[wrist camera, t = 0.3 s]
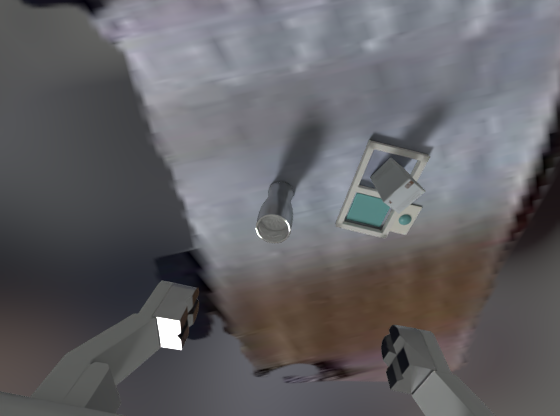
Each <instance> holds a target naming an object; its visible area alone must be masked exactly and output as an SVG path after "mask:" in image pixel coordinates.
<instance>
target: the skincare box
mask: <svg viewBox="0 0 560 416" xmlns="http://www.w3.org/2000/svg"><path fill="white" fill-rule="evenodd" d="M370 178H371V180H372V182H373V184H374V186H375V188H376V190H377V191H378V193H379V195H380V197H381V199H382V201H383V202H384V203H385V204H387V205H388V206H389V207H391V208H392V209H393V210H395V211H396V212H397V213H398V214H400V213H401V212H402V211H403V210H404V209H405V208H407V207H408V206H409V205H410V204H411V203H412V202H414V201H415V200H416V199H417V198H418V197H420V196H421V195H422V194H423V193H424V192H425V190H424V189H423V188H422V187H421V186H420V185H419V184H418V183H417V182H416V181H415V180H414V178H413V177H412V176H411V175H410V174H409V173H408V172H407V171H406V170H405V169H404V168H403V167H402V166H400V165H399V164H398V163H397V162H396V161H395V160H394V159H392V158H389V159H388V160H387V161H386V162H385V163H384V164H383V165H382V166H381V167H380V168H379V169H378V170H377V171H376V172H375V173H374V174H373V175H372V176H371V177H370Z"/></svg>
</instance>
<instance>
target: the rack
mask: <svg viewBox="0 0 560 416" xmlns="http://www.w3.org/2000/svg"><path fill="white" fill-rule="evenodd" d="M374 149H376V150H380V151H384V152H388V153H392V154H396V155H400V156H404V157H408V158H412V159H416V160H418V161H417V163H416V165H415V167H414V169H413V171H412V172H411V174H410V175H411V176H412V177H413V178H414V180H415V181H416V182H417V180H418V178H419V176H420V175H421V173H422V171H423V169H424V167H425V166H426V164H427V162H428V160H429V158H430V156H429V155H428V154H424V153H420V152H416V151H412V150H408V149H404V148H400V147H396V146H392V145H388V144H384V143H380V142H376V141H372V140H369V141H368V144H367V146H366V149H365V151H364V153H363V156H362V158H361V161H360V163H359V166H358V168H357V171H356V173H355V176H354V178H353V181H352V183H351V186H350V188H349V191H348V193H347V196H346V198H345V201H344V203H343V206H342V208H341V211H340V213H339V215H338V218H337V220H336V223H335V224H336V227H340V228H344V229H348V230H352V231H356V232H360V233H365V234H369V235H373V236H377V237H381V238H386V237H387V235H388V233H389V231H391V232H395V233H400V234H404V235H406V234H407V232H408V231H409V229H410V227H411V226H412V224H413V222H414V221H415V219H416V217H417V216H418V214H419V212H420V211H421V209H422V207H420V206H416V205H411V204H410V205H409V206H408V207H407V208H405V209H404V210H403V211H402V212H401V213H400V214H398V213H397V212H396V211H395V210H393V209H392V210H391V212H390V214H389V216H388V218H387V220H386V222H385V224H384V226H383V227H382V229H381V230H380V229H375V228H371V227H367V226H363V225H359V224H355V223H351V222H346V221H344V219H345V216H346V214H347V212H348V209H349V207H350V205H351V202H352V200H353V197H354V195H355V193H356V192H358V193H357V194H356V196H355V199H354V201H353V203H352V206H351V208H350V210H349V213H348V215H347V217H346V219H349V220H353V221H357V222H361V223H365V224H369V225H373V226H378V227H380V225H381V223H382V221H383V219H384V218H385V216H386V214H387V212H388V210H389V208H390V207H389V206H388V205H387V204H385V203H384V202H383V201H382V199H380V198H381V197H380V195H379V193H378V191H377V190H376V189H374V188H370V187H366V186H362V185H359V183H360V181H361V178H362V176H363V174H364V171H365V169H366V167H367V164H368V162H369V160H370V157H371V155H372V152H373V150H374ZM360 193H362V194H360ZM364 194H366V195H364ZM368 195H370V196H368ZM372 196H374V197H372ZM376 197H379V198H376Z"/></svg>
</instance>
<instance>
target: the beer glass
mask: <svg viewBox="0 0 560 416" xmlns="http://www.w3.org/2000/svg"><path fill="white" fill-rule="evenodd" d="M293 196H294V191H293V188H292V187H291V186H290V185H289V184H288V183H286V182H283V181H278V182H275V183H273V184H272V185H271V186H270V187H269V190H268V198H267V199H266V200H265V202H264V203H263V205H262V206H261V208H260V211H259V214H258V218H257V223H256V232H257V234H258V236H259V237H260V238H261V239H263V240H264V241H266V242H269V243H280V242H283V241H285V240H286V239H287V238H288V237H289V235H290V232H291V227H292V223H293V208H292V204H291V200H292V199H293Z"/></svg>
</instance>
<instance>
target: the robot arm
mask: <svg viewBox="0 0 560 416" xmlns="http://www.w3.org/2000/svg"><path fill="white" fill-rule="evenodd" d="M198 294H199V289H198V288H194V287H190V286H185V285H181V284H176V283H171V282H166V281H161V282H160V283H159V284H158V285H157V287H156V288H155V290H154V291H153V293H152V294H151V296H150V297H149V299H148V300H147V302H146V303H145V305H144V306H143V308H142V309H141V310H140V312H139V314H133V315H131V316H129V317H128V318H126V319H124V320H123V321H121V322H119V323H118V324H116V325H114V326H112V327H111V328H109V329H108V330H106V331H104V332H102V333H101V334H99V335H97V336H96V337H94V338H92V339H91V340H89V341H87V342H86V343H84V344H82V345H80V346H79V347H77V348H76V349H74V350H72V351H70V352H69V353H67V354H66V355H65V356H64V357H63V358H62V359H61V361H60V362H59V363H58V364H57V365H56V366H55V368H54V369H53V370H52V371H51V373H50V374H49V375H48V376H47V377H46V379H45V380H44V381H43V382H42V384H41V385H40V386H39V387H38V388H37V389H36V391H35V392H34V393H33V394H32V395H31V397H27V396H21V395H16V394H11V393H6V392H0V416H125V415H119V414H116V412H117V410H118V408H119V406H120V404H121V399H120V396H119V393H118V391H117V388H116V385H117V384H119V383H120V382H121V381H122V380H123V379H125V378H126V377H127V376H128V375H129V374H130V373H132V372H133V371H134V370H135V369H136V368H137V367H139V366H140V365H141V364H142V363H143V362H144V361H146V360H147V359H148V358H149V357H150V356H151V355H152V354H154V353H155V352H156V351H157V350H158V349H160V347H166V348H172V349H179V350H182V348H183V346H184V344H185V341H186V339H187V337H188V335H189V327H190V326H191V325H193V323H194V321H195V319H196V316H197V312H198V307H199V301H198V299H197V297H198ZM389 332H390V334H389V335H387V336H385V337H384V339H383V341H382V346H381V352H382V357H383V361H384V362H385V363H386V364H387V366H388V368H387V371H386V374H387V378H388V382H389V386H390V389H391V390H394V391H398V392H402V393H407V394H412V397H413V398H414V400H415V401H416V403H417V404H418V405H419V407H420V408H421V410H422V411H423V413H424V414H425V416H496V415H495V414H494V413H493V412H492V411H491V410H490V409H489V408H488V407H487V406H486V405H485V404H484V403H483V402H482V401H481V400H480V399H479V398H478V397H477V396H476V395H475V394H474V393H473V392H472V391H471V390H470V389H469V388H468V387H467V386H466V385H465V384H464V383H463V382H462V381H461V380H460V379H459V378H458V377H457V376H456V375H455V374H452V373H451V371H450V369H449V367H448V364H447V362H446V360H445V358H444V356H443V354H442V351H441V349H440V347H439V345H438V343H437V340H436V338H435V336H434V334H433V333H432V332H430V331H425V330H419V329H416V328H410V327H404V326H398V325H392V326H391V327H390V329H389Z"/></svg>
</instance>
